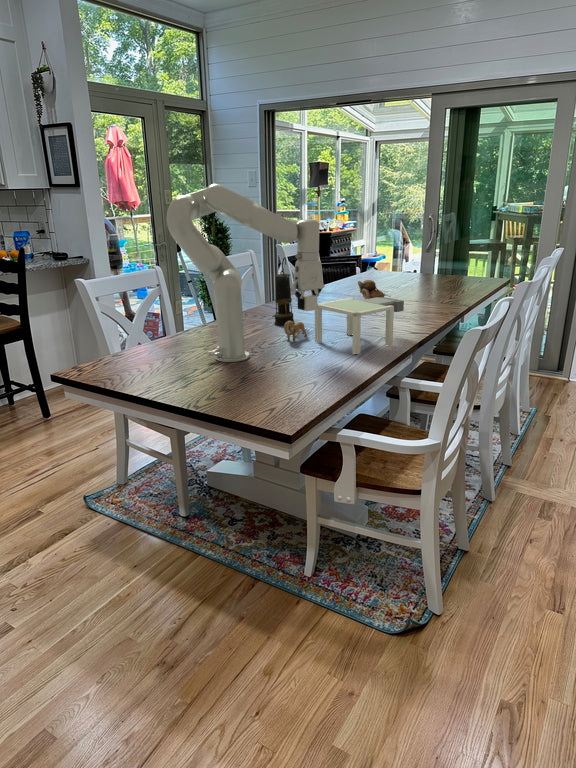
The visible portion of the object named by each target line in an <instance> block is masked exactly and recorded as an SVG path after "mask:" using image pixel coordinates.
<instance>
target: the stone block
mask: <svg viewBox="0 0 576 768" xmlns="http://www.w3.org/2000/svg"><path fill="white" fill-rule="evenodd" d="M303 299H304V310H301V309H299V310H300V311H303V312H304V311H305V312H310V311H311V312H312V311H315V310H317V304H318V297H317V296H316V295H312V294H311V293H304V296H303Z"/></svg>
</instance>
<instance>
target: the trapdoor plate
mask: <svg viewBox="0 0 576 768" xmlns="http://www.w3.org/2000/svg"><path fill="white" fill-rule="evenodd" d="M324 305H328V306H333V307H337V308H342V309H346V310H351V311H355V312H359V311H364V310H369V309H374V308H379V307H384V306H389V305H391V306H394V313H399V312H400V313H401V312H404V309H405V306H404V305H405V301H404V300H401V299H395V298H392V297H385V296H384V297H379V298H378V297H376V298H371V299H361V300H360V299H359V300H358V299H355V298H354V299H348V300H343V301H337V302H332V303H326V304H324Z"/></svg>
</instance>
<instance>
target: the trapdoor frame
mask: <svg viewBox="0 0 576 768" xmlns="http://www.w3.org/2000/svg"><path fill="white" fill-rule="evenodd" d="M348 299H354V300H355V298H354V297H347V298H342V299H337V300H331V301H330V300H329V301H324V302H319V303H318V302H317V310H314V343H315V342H317V343H316V344H321V343H320V342H322V343H323V310H326V311H329V312H335V313H339V314H343V315H346V335H347V334H348V335H352V334H353V336H352V353H354V354H359V353H360V354H361V334H362V333H361V332H362V331H361V330H362V329H361V327H362V326H361V322H362V321H361V320H362V319H361V318H362V317H364V316H368V315H373V314H377V313H381V312H385V336H384V337H385V338H384V339H385V340H384V346H385V345H388V346H390V347H392V346H391V345H394V314H395V312H394V306H391V305H389V306H384V307H379V308H374V309H369V310H364V311H359V312H355V311H351V310H346V309H342V308H337V307H333V306H328V305H324V304H326V303H332V302H337V301H343V300H348ZM348 335H347V336H348ZM388 346H387V347H388ZM352 353H351V354H352ZM354 354H353V355H354ZM360 354H359V355H360Z"/></svg>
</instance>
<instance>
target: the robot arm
mask: <svg viewBox="0 0 576 768" xmlns="http://www.w3.org/2000/svg"><path fill="white" fill-rule="evenodd" d="M215 212H216V213H218V214H220V215H222V216H224V217H227V218H228V219H230V220H231V219H232V220H233V221H235V222H238V223H239V224H241V225H244V226H245V227H248V228H249V229H253V230H255V231H257V232H259V233H261V234H264V235H265V236H268V238H269V237H270V238H272V239H274V240H275V241H278V242H281V243H283V244H291V243H292V242H294V241H297V245H296V246H297V248H296V249H297V251H296V252H297V253H296V254H295V255H294V256H295V259H297V260H296V261H295V263H294V264H295V265H294V269H293V271H294V272H293V284H292V285H291V286H290V291H291V293H293V295H294V296H295V297H296V299H297V309H298V310H300V309H301V310H300V311H303V310H304V299H303V296H304V294H305V292H306V291H310V292H311V293H310V294H312V295H316V296H317V298H318V297H319V296H320V294H321V291H322V290H323V289H324V288H325V284H324V283H323V282H324V279H323V278H324V277H323V266H322V261H321V260H320V259H319V258H320V252H319V251H320V223H319V221H318V220H316V219H301V220H296V219H290V218H289V219H288V218H285V217H284V216H280V215H279V214H276V213H275V212H273V211H270V210H269V209H267V208H265V207H264V206H262V205H261V204H259V202H257V201H255V200H253V199H250V198H248V197H247V196H244V195H242V194H240V193H239V192H236V191H235V190H232V189H230V188H228V187H226V186H224V185H222V184H219V183H212V184H210V185H208V186H207V187H205V188H202V189H200V190H197V191H194V192H191V193H188V194H185V195H184V194H182V195H178V196H176V197H174V198H173V199H172V200H171V202H170V203H169V205H168V208H167V211H166V218H165V219H166V226H167V228H168V231H169V234H170V236H171V237H172V238H173V240H174V241H175V242H176V244H177V245H178V246H179V247H180V249H181V250H182V252H183V253H184V254H185V255H186V256H187V258H189V260H190V261H191V263H193V264H194V266H195V267H196V269H197V270H198V271H199V272H201V273H203V274H205V275H207V276H208V277H209V278H210V279H211V280H212V282H213V297H214V304H215V305H214V306H215V316H216V329H217V330H216V331H217V341H218V345H217V346H216V347H215V349H213V350H208V351H206V355H207V357H208V358H209V357H212V356H213V357H214V358H215V360H216V361H218V362H223V363H236V362H241V361H245V360H248V359H249V357H250V352H248V351H246V348H245V331H244V315H243V314H244V313H243V298H242V296H243V295H242V286H243V285H242V283H243V279H242V276H241V273H240V272H239V271H238V270H237V268H236V267H235V265H233V263H232V262H231V261H230V260H229V258H228V257H226V255H225V254H224V252H223V251H222V250H221V249H220V248H219V247H217V246H216V245H215V244H210V243H209V242H208V240H207V239H206V237H204V236H203V234H202V233H201V232H200V230H199V229H198V228H196V225H194V223H193V220H196V219H198V218H203V217H205V216H207V215H210V214H213V213H215Z"/></svg>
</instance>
